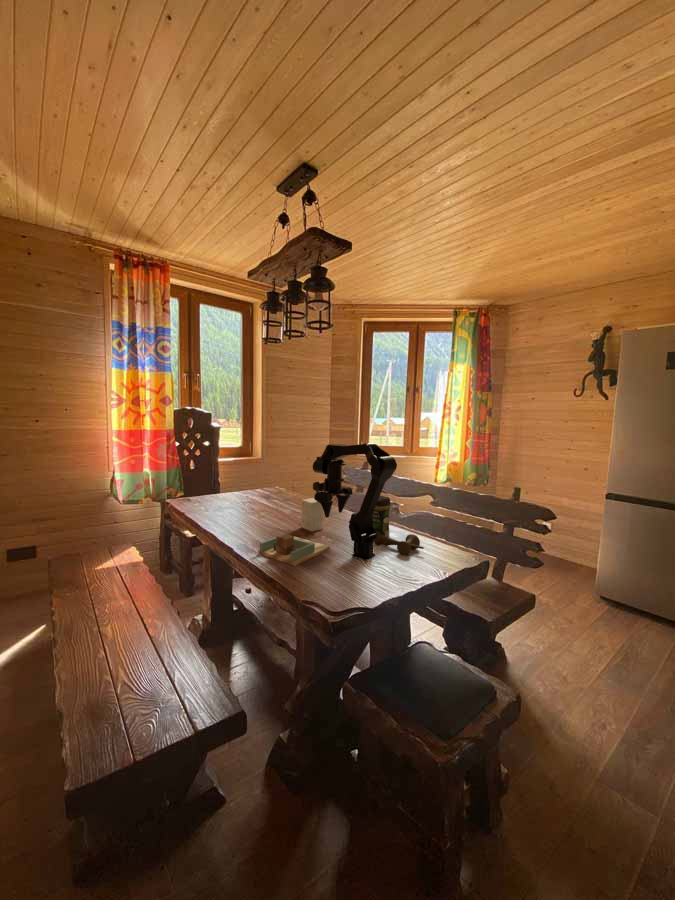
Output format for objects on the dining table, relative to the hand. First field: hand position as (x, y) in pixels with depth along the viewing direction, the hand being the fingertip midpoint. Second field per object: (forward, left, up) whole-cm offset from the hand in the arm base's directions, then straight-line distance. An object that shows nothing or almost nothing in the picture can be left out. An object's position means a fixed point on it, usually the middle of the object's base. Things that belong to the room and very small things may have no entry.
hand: (333, 514), depth 148 cm
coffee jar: (-11, -17, -12) cm, 23 cm away
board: (+7, +15, -12) cm, 21 cm away
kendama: (-24, -11, -12) cm, 29 cm away
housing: (+7, +19, -11) cm, 23 cm away
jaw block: (+7, +21, -11) cm, 24 cm away
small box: (+20, -11, -12) cm, 26 cm away
